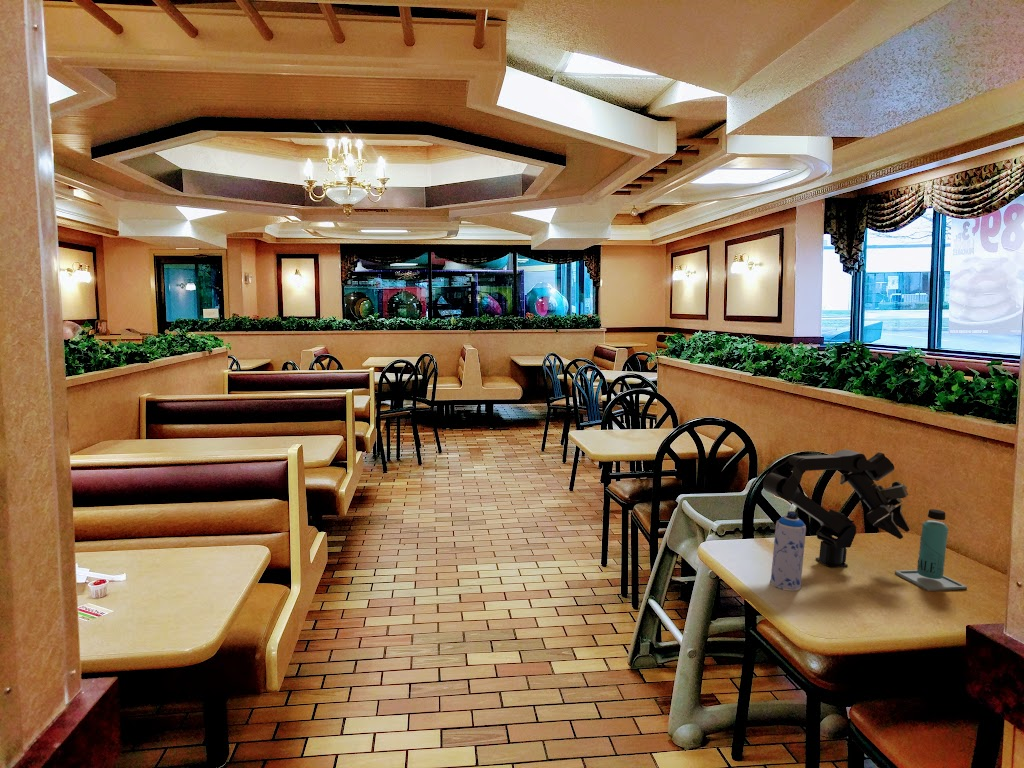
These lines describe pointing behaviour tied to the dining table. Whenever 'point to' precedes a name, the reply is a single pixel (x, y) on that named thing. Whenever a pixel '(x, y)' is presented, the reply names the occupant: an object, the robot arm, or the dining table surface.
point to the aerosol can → (788, 552)
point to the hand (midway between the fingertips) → (905, 534)
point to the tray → (930, 581)
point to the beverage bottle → (933, 546)
